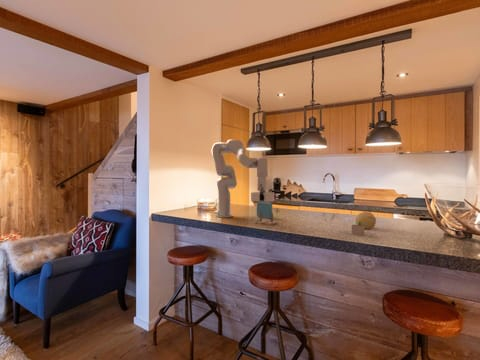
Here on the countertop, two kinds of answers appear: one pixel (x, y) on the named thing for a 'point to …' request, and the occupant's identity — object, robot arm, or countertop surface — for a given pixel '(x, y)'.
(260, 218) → the post plate
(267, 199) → the power strip
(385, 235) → the countertop surface
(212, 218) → the countertop surface
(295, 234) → the countertop surface
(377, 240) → the countertop surface
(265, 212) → the data package
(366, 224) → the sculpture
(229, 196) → the robot arm
